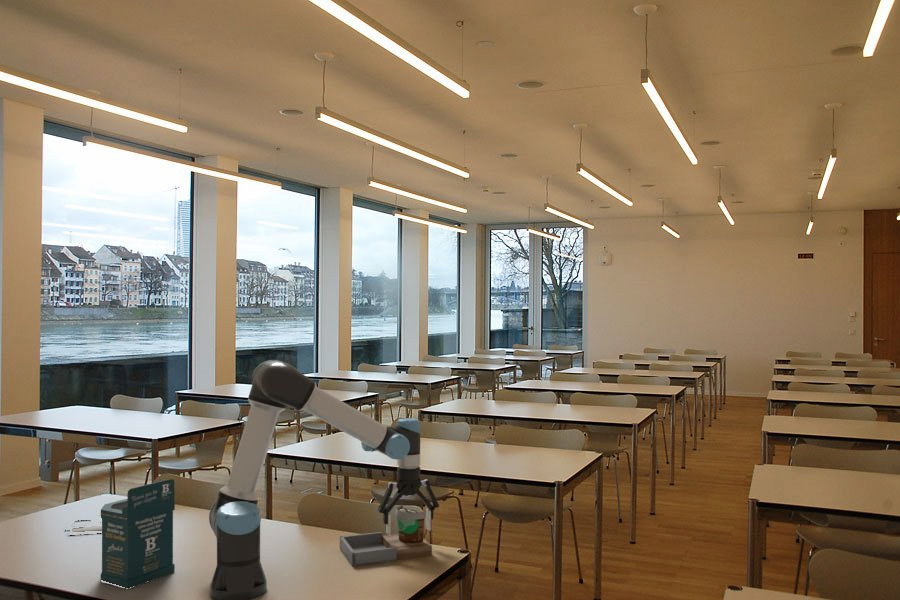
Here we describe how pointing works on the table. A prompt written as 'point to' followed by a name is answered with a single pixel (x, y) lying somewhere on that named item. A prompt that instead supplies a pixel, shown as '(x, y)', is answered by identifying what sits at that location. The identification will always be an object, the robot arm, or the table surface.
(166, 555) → the donation box
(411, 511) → the food container
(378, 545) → the tray
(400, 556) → the tan wooden flat block
